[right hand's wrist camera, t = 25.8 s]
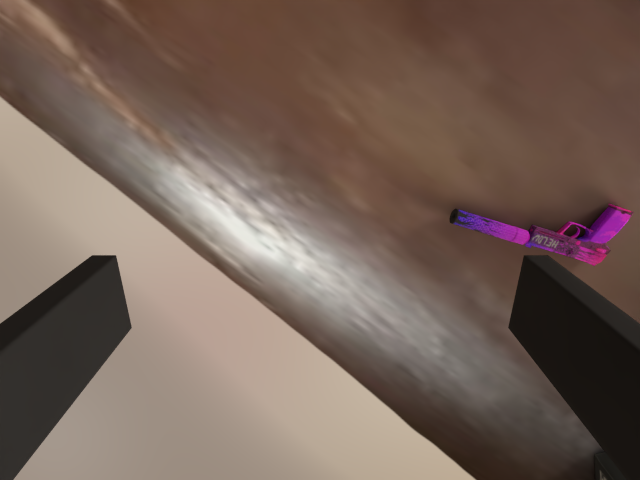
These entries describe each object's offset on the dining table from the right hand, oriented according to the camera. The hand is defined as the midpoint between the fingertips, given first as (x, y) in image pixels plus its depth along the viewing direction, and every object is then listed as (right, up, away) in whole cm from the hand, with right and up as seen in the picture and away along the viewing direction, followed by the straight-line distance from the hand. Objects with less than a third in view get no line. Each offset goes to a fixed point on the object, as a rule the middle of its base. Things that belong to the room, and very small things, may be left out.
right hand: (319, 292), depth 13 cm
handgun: (+28, +4, +35) cm, 45 cm away
